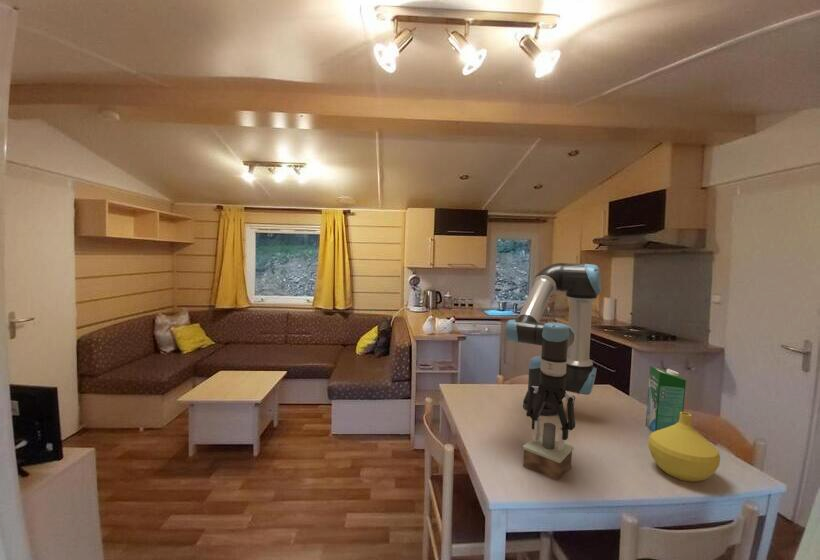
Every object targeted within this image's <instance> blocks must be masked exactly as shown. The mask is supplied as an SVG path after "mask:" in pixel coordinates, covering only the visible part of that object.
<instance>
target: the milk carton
mask: <svg viewBox="0 0 820 560" xmlns="http://www.w3.org/2000/svg"><path fill="white" fill-rule="evenodd" d="M648 376H649V377H648V391H647V392H648V393H647V405H646V415H645V416H646V418H645V427H646V426H647V427H648V428H649V429H650V430H651V431H652V432H654V431H657V430H660V429H663V428H667V427H669V426H672V425H675V424H676V423H678V422H679V417H680V412H685V411H684V410H685V409H684V408H685V399H686V398H685V396H686V388H687V387H686V386H687V380H686V379H685V378H683V377H681V376H680V373H679V372H678V371H675V370H673V369H670V368H667V369H662V368H659V367H656V366H653V365H650V367H649V375H648ZM647 427H646V428H647ZM648 428H647V429H648ZM649 429H648V430H649ZM650 430H649V431H650ZM651 431H650V432H651ZM652 432H651V433H652Z"/></svg>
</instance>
